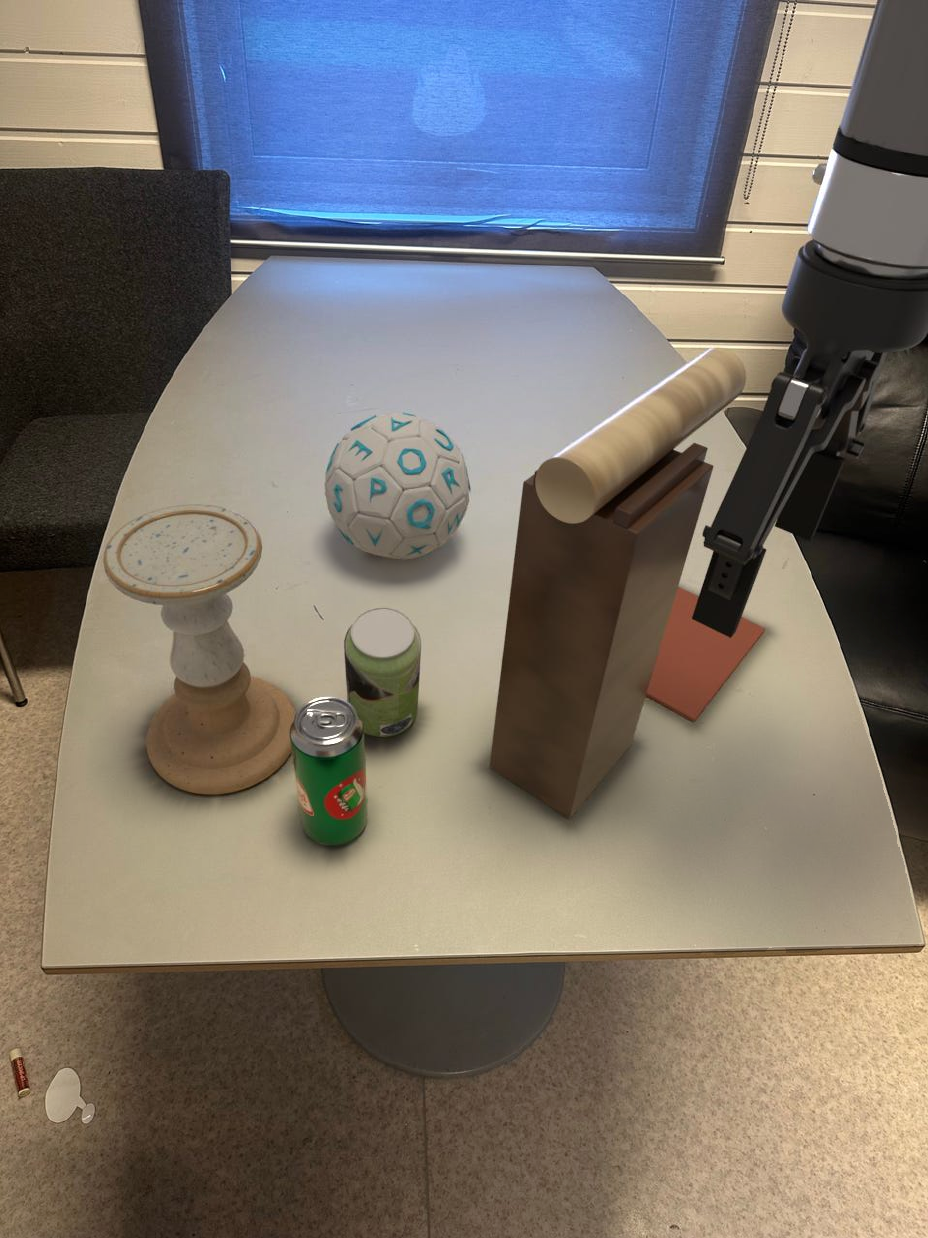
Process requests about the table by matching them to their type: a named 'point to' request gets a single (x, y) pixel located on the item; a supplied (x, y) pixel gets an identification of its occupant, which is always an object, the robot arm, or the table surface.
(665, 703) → the mat
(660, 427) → the wooden dowel rod
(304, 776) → the soda can
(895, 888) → the table surface
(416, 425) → the puzzle ball
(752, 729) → the table surface
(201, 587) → the candle holder
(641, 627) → the stand
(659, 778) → the table surface
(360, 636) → the beverage can
